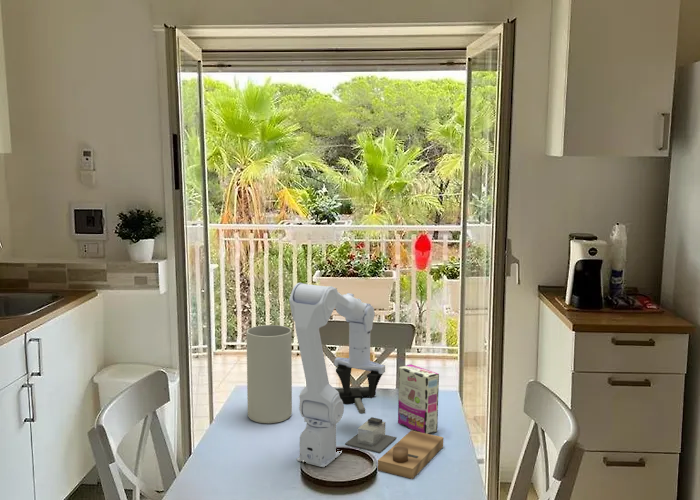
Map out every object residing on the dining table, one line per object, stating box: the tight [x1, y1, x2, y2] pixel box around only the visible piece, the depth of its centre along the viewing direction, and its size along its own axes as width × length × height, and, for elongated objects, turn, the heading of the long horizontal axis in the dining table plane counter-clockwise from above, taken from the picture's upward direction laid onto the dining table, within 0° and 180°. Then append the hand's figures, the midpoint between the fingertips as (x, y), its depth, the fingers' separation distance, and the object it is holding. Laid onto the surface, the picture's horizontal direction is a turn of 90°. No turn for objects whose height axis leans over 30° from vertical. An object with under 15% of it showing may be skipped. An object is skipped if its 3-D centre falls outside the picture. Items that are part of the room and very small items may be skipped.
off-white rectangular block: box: [357, 416, 386, 446], centre depth 177 cm, size 7×4×5 cm, turn 151°
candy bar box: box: [397, 364, 440, 435], centre depth 185 cm, size 11×5×16 cm, turn 39°
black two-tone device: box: [335, 386, 377, 415], centre depth 203 cm, size 3×20×16 cm
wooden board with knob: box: [377, 429, 444, 480], centre depth 167 cm, size 20×9×5 cm, turn 152°
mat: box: [344, 433, 397, 454], centre depth 177 cm, size 10×10×1 cm
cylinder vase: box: [246, 324, 293, 424], centre depth 192 cm, size 12×12×25 cm
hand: (359, 394), depth 184 cm, fingers open, 7 cm apart
